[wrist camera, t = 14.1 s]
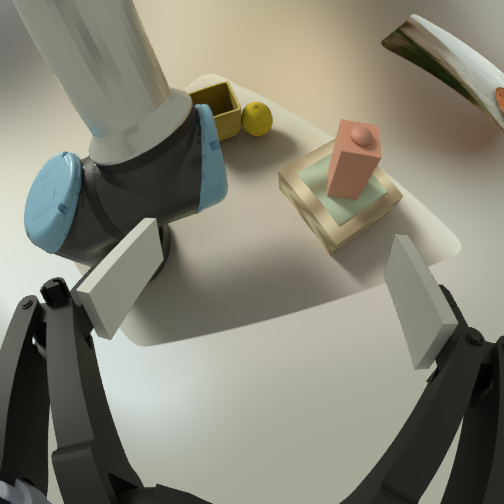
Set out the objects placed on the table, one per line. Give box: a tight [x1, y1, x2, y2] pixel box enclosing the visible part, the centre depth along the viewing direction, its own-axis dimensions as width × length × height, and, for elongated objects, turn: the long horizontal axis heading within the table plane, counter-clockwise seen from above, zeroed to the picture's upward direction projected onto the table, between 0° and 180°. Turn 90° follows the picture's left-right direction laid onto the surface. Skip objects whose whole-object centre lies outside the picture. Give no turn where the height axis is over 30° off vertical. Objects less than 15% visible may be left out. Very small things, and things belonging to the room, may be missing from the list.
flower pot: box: [188, 81, 241, 142], centre depth 46 cm, size 9×9×9 cm
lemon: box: [241, 102, 273, 136], centre depth 45 cm, size 6×6×8 cm
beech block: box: [278, 139, 403, 255], centre depth 41 cm, size 14×14×6 cm
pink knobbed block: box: [327, 120, 381, 200], centre depth 32 cm, size 4×4×13 cm
